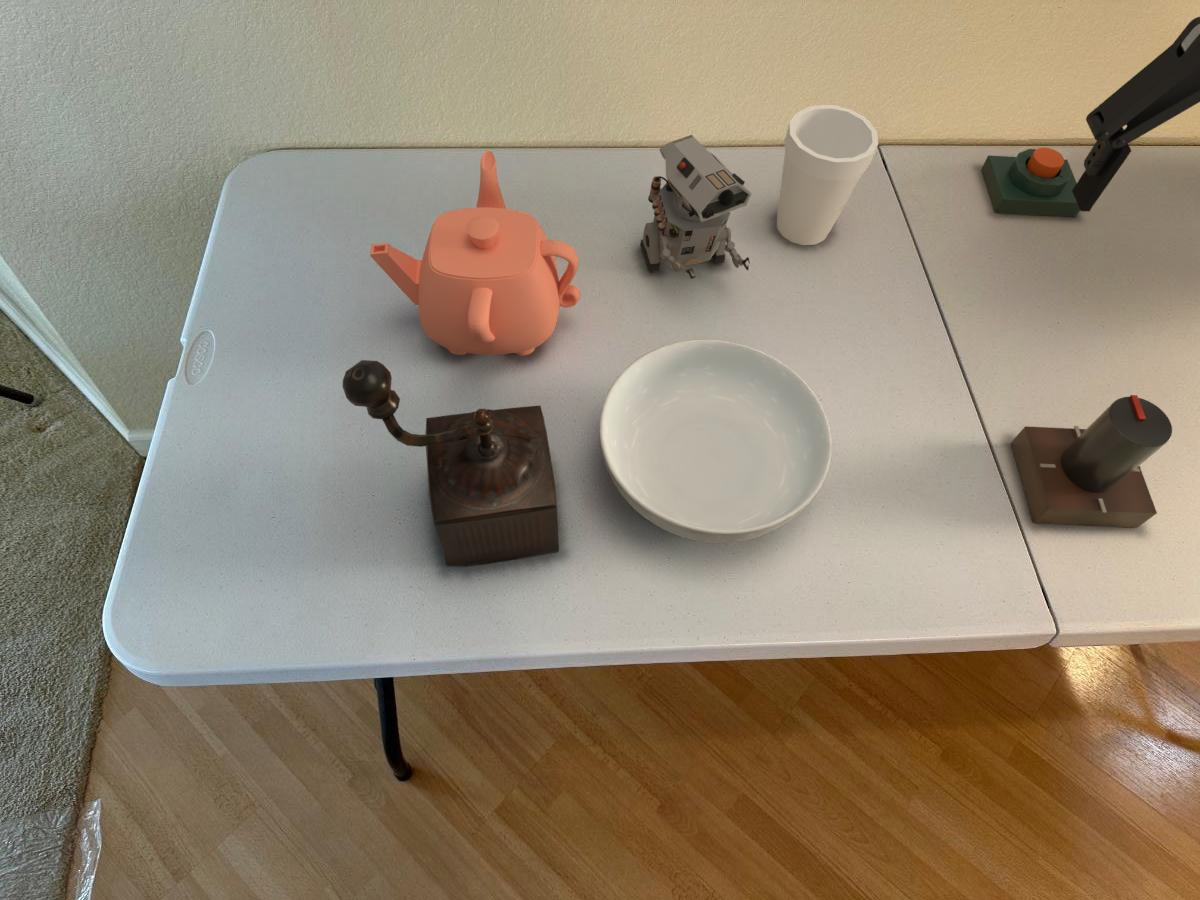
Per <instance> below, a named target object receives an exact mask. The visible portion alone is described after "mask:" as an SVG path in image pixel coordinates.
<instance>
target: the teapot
mask: <svg viewBox="0 0 1200 900" xmlns="http://www.w3.org/2000/svg"><path fill="white" fill-rule="evenodd" d="M479 170H480V173H479V174H480V175H479V176H480V177H479V180H480V181H479V189H478V195H477V201H476V207H466V208H459V209H453V210H448V211H446V212H443V213H441V214H439V215H438V216H437V217H436V218H435V220H434V222H433V224H432V227H431V229H430V232H429V235H428V238H427V242H426V244H425V248H424V251H423V254H422V257H421V260H420V259H417V258H415V257H413V256H410V255H409V254H407V253H405V252H403V251H401V250H399V249H398V248H396V247H394V246H392V245H390V243H389V242H383V243H382V242H381V243H374V244H373V243H372V244H370V251H369V256H370V258H371V259H372V260H373V261H374V262H375V263H376V264H377V265H378V266H379V267H380V268H381V269H382V271H383V272H384V273H385V274H386V275H387V276H388V277H389V278H390V279H391V280H392V282H393V283H394V284H395V285H396V286H397V287H398V288H399V289H400V290H401V291H402V293H404V295H405V296H406V297H407V298H408V299H409V300H410V301H411V302H412V303H413V305H414V306H418V317H419V322H420V325H421V328H422V331H423V332H424V333H425V335H426V336H427V337H428V338H429V339H431V340H432V342H434V343H436V344H437V345H439V346H442V347H443V348H446V349H447V350H448V351H449V352H450V353H451V354H453V355H457V356H463V355H466V354H474V355H482V356H483V355H484V356H495V355H496V356H497V355H509V354H514V355H516V356H522V357H524V356H528V355H530V354H533V352H534V351H535V349H536V348H537V347H539V346H540V345H542V344H544V343H545V342H546V341H547V340H548V339H549V338H550V337H551V336H552V334H553V332H554V331H555V328H556V326H557V321H558V318H559V313H560V307H562V308H571V307H574V306H576V305H578V303H579V301H580V298H581V291H580V289H579V287H578V286H576V285H574V284H571V283H572V282H573V281H574V278H575V277H576V275H577V273H578V268H579V256H578V253H577V252H576V249H574V247H573V246H571V245H569V244H568V243H566V242H564V241H560V240H558V239H557V240H556V239H548V236H547V235H546V233H545V232H544V230H543V228H542V226H541V225H540V224H539V222H538V221H537V219H536V218H535V217H534V216H533V215H531V214H529V213H527V212H524V211H519V210H515V209H510V208H507V207H506V204H505V201H504V198H503V195H502V191H501V188H500V185H499V180H498V179H499V178H498V172H497V160H496V156H495V154H494V153H493V152H492V151H491V150H485V151H484V152H483V153H482V154H481V159H480V169H479ZM556 257H558V258H561V259H563V260H565V261H567V262H568V263H567V267H566V269H565V271H564V272H563V274H562V276H561V278H559V272H558V271H559V270H558V266H557V262H556Z"/></svg>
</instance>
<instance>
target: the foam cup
mask: <svg viewBox="0 0 1200 900" xmlns="http://www.w3.org/2000/svg"><path fill="white" fill-rule="evenodd" d="M878 146H879V137H878V131H877V129H876V128H875V126H874V125H873V124H872V123H871V122H870V121H869V119H868V118H867V117H865V116H863V115H862V114H859V113H858V112H857V111H854V110H853V109H850V108H848V107H843V106H838V105H835V104H822V105H821V104H820V105H818V104H817V105H811V106H809V107H806V108H804V109H800V110H798V111H797V112H796V113H795V114H794V116H793V117H792V118H791V119H790V120H789V124H788V127H787V131H786V134H785V137H784V157H783V164H782V165H783V166H782V173H781V181H780V190H779V197H778V204H777V205H778V206H777V214H776V229H777V231H778V232H779V234H780V235H781V237H783V238H785V239H786V240H787V241H789V242H790V243H793V244H797V245H801V246H815V245H817V244H819V243H821V242H824V241H825V240H826V238H827V237H828V235H829V234H830V232H831V231H832V229H833V227H834V225H835V223H836V222H837V220H838V219H839V216H840V215H841V213H842V212H843V209H844V208H845V206H846V204H847V203H848V200H849V199H850V197H851V195H852V194H853V192H854V190H855V188H856V186H857V185H858V182H859V181H860V179H861V177H862V176H863V174H864V173H865V172H866V170H867V169H868V168H869V166H870V165H871V163H872V161H873V159H874V156H875V153H876V151H877V149H878Z"/></svg>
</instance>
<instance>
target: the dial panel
mask: <svg viewBox="0 0 1200 900" xmlns="http://www.w3.org/2000/svg"><path fill="white" fill-rule="evenodd" d="M1086 429H1087V428H1080V427H1079V425H1073V428H1069V427H1068V428H1067V427H1047V426H1028V425H1027V426H1024V427H1023V428H1022V429H1021V430H1020V432H1019V433H1018V434H1017V435H1016V436H1015V437H1014V438H1013V439H1012V440H1011V442H1010V445H1011V448H1012V452H1013V456H1014V459H1015V463H1016V466H1017V470H1018V474H1019V477H1020V480H1021V484H1022V488H1023V492H1024V495H1025V498H1026V502H1027V506H1028V510H1029V514H1030V517H1031V520H1032V523H1033V524H1053V525H1073V526H1092V527H1093V526H1094V527H1115V528H1116V527H1117V528H1118V527H1119V528H1135V529H1137V528H1139V527H1140V526H1142V525H1143V524H1144V523H1146V522H1147V521H1149V520H1150V519H1151V518H1153V517H1154V516H1156V515H1157V514H1158V511H1157V509H1156V506H1155V504H1154V501H1153V499H1152V496H1151V493H1150V489H1149V487H1148V485H1147V482H1146V479H1145V477H1144V474H1143V471H1142V469H1141V465H1140V466H1138V467H1137V468H1136V469H1135V470H1134V471H1132V472H1131V473H1130V474H1129V475H1128V476H1127V477H1125V478H1124V479H1123V480H1122V481H1121V482H1119V483H1118V484H1117V485H1116V486H1115V487H1113V488H1112V489H1110V490H1108V491H1105V492H1093V491H1089V490H1086V489H1084V488H1082V487H1080V486H1078V485H1077V484H1075V483H1074V482H1073V481H1072V480H1071V479H1070V478H1069V477H1068V476H1067V475H1066V473H1065V471H1064V469H1063V467H1062V455H1063V453H1064V451H1065V450H1066V449H1067V448H1068V447H1069V446H1070V445H1071V444H1072V443H1073V442H1074V441H1075V440H1076V439H1077V438H1078V437H1079V436H1080V435H1081V434H1082V433H1083V432H1084V431H1085V430H1086Z"/></svg>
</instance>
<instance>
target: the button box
mask: <svg viewBox="0 0 1200 900" xmlns="http://www.w3.org/2000/svg"><path fill="white" fill-rule="evenodd" d="M1037 149H1038V148H1027V149H1025V150H1023V151H1020V152H1019V153H1018V154H1017V156H1007V155H991V154H989V155H987V157H986V158H985V161H984V163H983V164H982V166H981V169H980V171H981V174H982V178H983V180H984V184H985V187H986V190H987V193H988V196H989V200H990V202H991V206H992V208H993V211H994V213H995V214H1007V215H1028V216H1048V217H1051V216H1052V217H1065V218H1066V217H1068V218H1076V217H1077V216H1078V215H1079V213H1080V212H1081V210H1080V208H1079V206H1078V204H1077V201H1076V199H1075V197H1074V194H1073V192H1072V190H1073V188H1074V187H1075V185H1076V184H1077V182H1078V181H1077V180H1076V178H1075V175H1074V172H1073V170H1072V168H1071V166H1070V163H1069V161H1068V159H1065V158H1064V164H1063V165H1062V167H1061V168H1060V170H1059V172H1058V173H1057V175H1056V176H1055V177H1053V178H1042V177H1039V176H1036V175H1034V174H1033V173H1031V172H1030V171H1029V170H1028V169H1027V163H1028V161H1029V160H1030V158H1031V156H1032V154H1033V153H1034V151H1035V150H1037Z"/></svg>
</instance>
